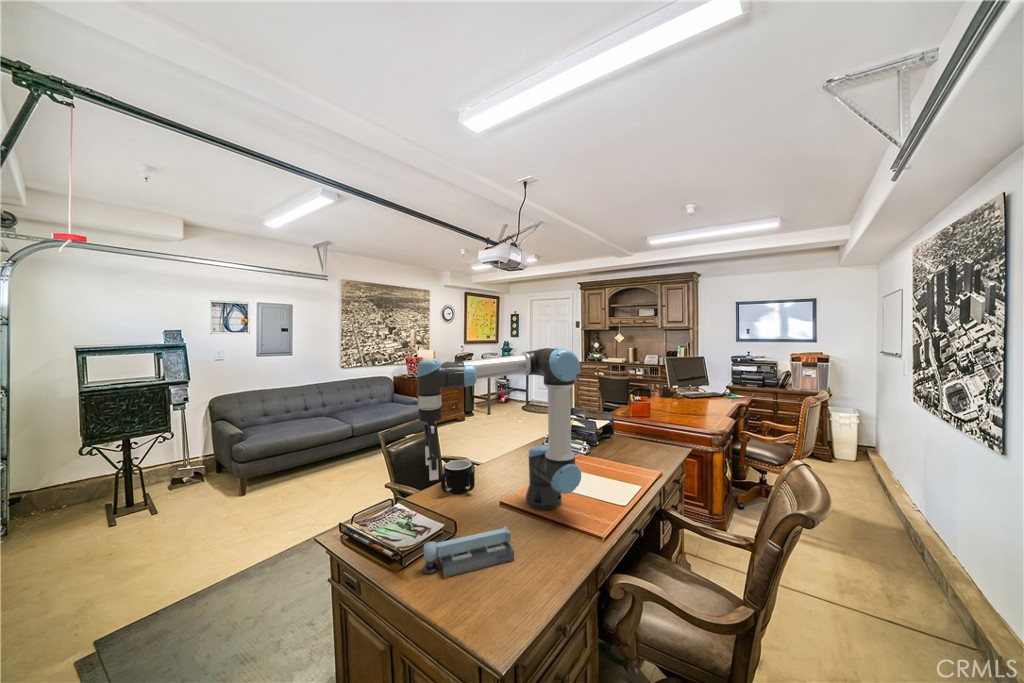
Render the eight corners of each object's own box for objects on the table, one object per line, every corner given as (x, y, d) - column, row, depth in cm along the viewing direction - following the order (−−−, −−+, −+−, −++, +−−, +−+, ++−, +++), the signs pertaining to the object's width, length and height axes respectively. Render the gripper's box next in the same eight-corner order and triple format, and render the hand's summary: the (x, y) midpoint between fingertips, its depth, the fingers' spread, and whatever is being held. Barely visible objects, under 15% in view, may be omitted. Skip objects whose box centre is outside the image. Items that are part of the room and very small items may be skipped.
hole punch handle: (424, 562, 108) (424, 550, 108) (423, 555, 112) (422, 543, 112) (510, 542, 117) (510, 531, 117) (506, 536, 121) (506, 525, 121)
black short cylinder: (438, 562, 114) (437, 551, 114) (440, 572, 109) (440, 560, 109) (421, 566, 112) (421, 555, 112) (423, 576, 108) (423, 564, 108)
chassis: (503, 541, 125) (502, 531, 124) (514, 560, 114) (513, 549, 114) (438, 556, 117) (437, 546, 117) (443, 577, 107) (443, 566, 107)
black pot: (474, 498, 158) (473, 470, 157) (437, 499, 158) (436, 471, 157) (478, 482, 174) (477, 457, 174) (444, 483, 174) (444, 458, 174)
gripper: (415, 401, 130) (417, 460, 131) (421, 416, 106) (423, 488, 107) (437, 400, 132) (438, 457, 133) (446, 414, 109) (448, 484, 109)
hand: (431, 471), depth 120 cm, fingers open, 13 cm apart
